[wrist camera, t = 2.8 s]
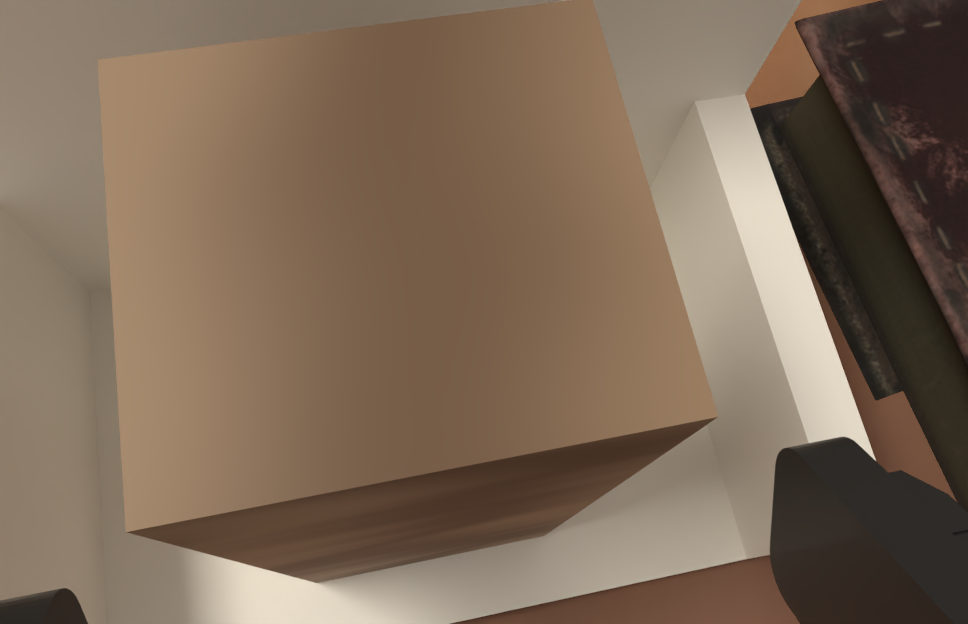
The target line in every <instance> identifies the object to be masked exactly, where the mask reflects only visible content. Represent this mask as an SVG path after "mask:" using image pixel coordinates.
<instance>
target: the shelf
mask: <svg viewBox="0 0 968 624" xmlns="http://www.w3.org/2000/svg"><path fill="white" fill-rule="evenodd" d="M560 1H568V0H0V600H5V599H10V598H16V597H21V596H26V595H31V594H36V593H41V592H46V591H51V590H56V589H61V588H67V589H69V590H71V591H72V592H73V593H74V594H75V596H76V597H77V599H78V601H79V603H80V605H81V608H82V610H83V613H84V615H85V617H86V620H87V622H88V624H451V623H455V622H460V621H465V620H469V619H474V618H478V617H483V616H488V615H492V614H497V613H501V612H506V611H511V610H515V609H520V608H524V607H529V606H533V605H538V604H543V603H547V602H552V601H556V600H561V599H566V598H570V597H575V596H579V595H584V594H589V593H593V592H598V591H602V590H607V589H611V588H616V587H621V586H625V585H630V584H634V583H639V582H644V581H648V580H653V579H657V578H662V577H667V576H671V575H676V574H680V573H685V572H689V571H694V570H699V569H703V568H708V567H712V566H717V565H722V564H726V563H731V562H735V561H740V560H745V559H750V558H756V557H761V556H767V555H770V535H771V521H772V506H773V491H774V476H775V464H776V459H777V455H778V453H779V452H780V451H781V450H782V449H784V448H787V447H792V446H797V445H802V444H807V443H812V442H817V441H822V440H827V439H832V438H838V437H848V438H850V439H852V440H854V441H855V442H856V443H857V444H858V445H859V446H861V447H862V448H863V449H864V450H865V451H866V452H867V453H868V454H869V455H870V456H871V457H872V458H873V459H874V460H875V461H876V459H875V456H874V454H873V451H872V448H871V445H870V443H869V440H868V437H867V434H866V431H865V429H864V426H863V423H862V420H861V417H860V415H859V412H858V409H857V406H856V403H855V401H854V398H853V395H852V392H851V389H850V387H849V384H848V381H847V378H846V376H845V373H844V370H843V367H842V364H841V362H840V359H839V356H838V353H837V350H836V348H835V345H834V342H833V339H832V336H831V334H830V331H829V328H828V325H827V322H826V320H825V317H824V314H823V311H822V309H821V306H820V303H819V300H818V297H817V295H816V292H815V289H814V286H813V283H812V281H811V278H810V275H809V272H808V269H807V267H806V264H805V261H804V258H803V255H802V253H801V250H800V247H799V244H798V241H797V239H796V236H795V233H794V230H793V228H792V225H791V222H790V219H789V216H788V214H787V211H786V208H785V205H784V202H783V200H782V197H781V194H780V191H779V188H778V186H777V183H776V180H775V177H774V174H773V172H772V169H771V166H770V163H769V161H768V158H767V155H766V152H765V149H764V147H763V144H762V141H761V138H760V135H759V133H758V130H757V127H756V124H755V121H754V119H753V116H752V113H751V110H750V107H749V105H748V102H747V99H746V96H745V93H746V91H747V90H748V88H749V86H750V85H751V83H752V81H753V80H754V78H755V76H756V75H757V73H758V71H759V70H760V68H761V67H762V65H763V63H764V62H765V60H766V58H767V57H768V55H769V53H770V52H771V50H772V48H773V47H774V45H775V43H776V42H777V40H778V38H779V37H780V35H781V33H782V32H783V30H784V28H785V27H786V25H787V24H788V22H789V20H790V19H791V17H792V15H793V14H794V12H795V10H796V9H797V7H798V5H799V4H800V2H801V0H593V2H594V5H595V8H596V12H597V15H598V18H599V22H600V25H601V28H602V32H603V35H604V38H605V42H606V45H607V48H608V52H609V55H610V58H611V62H612V65H613V68H614V72H615V75H616V78H617V81H618V85H619V88H620V91H621V95H622V98H623V101H624V105H625V108H626V111H627V115H628V118H629V121H630V125H631V128H632V131H633V135H634V138H635V141H636V145H637V148H638V151H639V155H640V158H641V161H642V165H643V168H644V171H645V174H646V178H647V181H648V184H649V188H650V191H651V194H652V198H653V201H654V204H655V208H656V211H657V214H658V218H659V221H660V224H661V228H662V231H663V234H664V238H665V241H666V244H667V248H668V251H669V254H670V258H671V261H672V264H673V267H674V271H675V274H676V277H677V281H678V284H679V287H680V291H681V294H682V297H683V301H684V304H685V307H686V311H687V314H688V317H689V321H690V324H691V327H692V331H693V334H694V337H695V341H696V344H697V347H698V351H699V354H700V357H701V361H702V364H703V367H704V370H705V374H706V377H707V380H708V384H709V387H710V390H711V394H712V397H713V400H714V404H715V407H716V410H717V414H718V418H716V419H715V420H713V421H712V422H710V423H709V424H707V425H706V426H704V427H703V428H701V429H700V430H699V431H697V432H696V433H694V434H693V435H691V436H690V437H688V438H687V439H685V440H684V441H682V442H681V443H680V444H678V445H677V446H675V447H674V448H672V449H671V450H669V451H668V452H666V453H665V454H663V455H662V456H660V457H659V458H658V459H656V460H655V461H653V462H652V463H650V464H649V465H647V466H646V467H644V468H643V469H641V470H640V471H639V472H637V473H636V474H634V475H633V476H631V477H630V478H628V479H627V480H625V481H624V482H622V483H621V484H620V485H618V486H617V487H615V488H614V489H612V490H611V491H609V492H608V493H606V494H605V495H603V496H602V497H600V498H599V499H598V500H596V501H595V502H593V503H592V504H590V505H589V506H587V507H586V508H584V509H583V510H581V511H580V512H579V513H577V514H576V515H574V516H573V517H571V518H570V519H568V520H567V521H565V522H564V523H562V524H561V525H559V526H558V527H557V528H555V529H554V530H552V531H551V532H549V533H548V534H546V535H545V536H542V537H537V538H532V539H527V540H522V541H517V542H513V543H508V544H503V545H498V546H493V547H489V548H484V549H479V550H474V551H469V552H464V553H460V554H455V555H450V556H445V557H440V558H436V559H431V560H426V561H421V562H416V563H411V564H407V565H402V566H397V567H392V568H387V569H383V570H378V571H373V572H368V573H363V574H358V575H354V576H349V577H344V578H339V579H334V580H330V581H325V582H320V583H314V582H311V581H307V580H303V579H299V578H296V577H292V576H288V575H284V574H281V573H277V572H273V571H269V570H266V569H262V568H258V567H254V566H251V565H247V564H243V563H239V562H236V561H232V560H228V559H224V558H221V557H217V556H213V555H209V554H206V553H202V552H198V551H194V550H191V549H187V548H183V547H179V546H176V545H172V544H168V543H164V542H161V541H157V540H153V539H149V538H146V537H142V536H138V535H134V534H131V533H127V532H126V530H125V513H124V496H123V479H122V462H121V446H120V429H119V412H118V395H117V379H116V362H115V345H114V328H113V311H112V295H111V278H110V261H109V244H108V227H107V211H106V194H105V177H104V160H103V144H102V127H101V110H100V93H99V76H98V59H106V58H114V57H122V56H130V55H138V54H146V53H154V52H162V51H170V50H178V49H186V48H194V47H202V46H210V45H218V44H226V43H234V42H242V41H250V40H258V39H265V38H273V37H281V36H289V35H297V34H305V33H313V32H321V31H329V30H337V29H345V28H353V27H361V26H369V25H377V24H385V23H393V22H401V21H409V20H417V19H425V18H433V17H440V16H448V15H456V14H464V13H472V12H480V11H488V10H496V9H504V8H512V7H520V6H528V5H536V4H544V3H552V2H560Z"/></svg>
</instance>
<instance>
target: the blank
mask: <svg viewBox="0 0 968 624" xmlns="http://www.w3.org/2000/svg"><path fill="white" fill-rule="evenodd" d="M98 76H99V93H100V110H101V127H102V144H103V160H104V177H105V194H106V211H107V227H108V244H109V261H110V278H111V295H112V311H113V328H114V345H115V362H116V379H117V395H118V412H119V429H120V446H121V462H122V479H123V496H124V513H125V530H126V532H127V533H131V534H134V535H138V536H142V537H146V538H149V539H153V540H157V541H161V542H164V543H168V544H172V545H176V546H179V547H183V548H187V549H191V550H194V551H198V552H202V553H206V554H209V555H213V556H217V557H221V558H224V559H228V560H232V561H236V562H239V563H243V564H247V565H251V566H254V567H258V568H262V569H266V570H269V571H273V572H277V573H281V574H284V575H288V576H292V577H296V578H299V579H303V580H307V581H311V582H314V583H320V582H325V581H330V580H334V579H339V578H344V577H349V576H354V575H358V574H363V573H368V572H373V571H378V570H383V569H387V568H392V567H397V566H402V565H407V564H411V563H416V562H421V561H426V560H431V559H436V558H440V557H445V556H450V555H455V554H460V553H464V552H469V551H474V550H479V549H484V548H489V547H493V546H498V545H503V544H508V543H513V542H517V541H522V540H527V539H532V538H537V537H542V536H545V535H546V534H548V533H549V532H551V531H552V530H554V529H555V528H557V527H558V526H559V525H561V524H562V523H564V522H565V521H567V520H568V519H570V518H571V517H573V516H574V515H576V514H577V513H579V512H580V511H581V510H583V509H584V508H586V507H587V506H589V505H590V504H592V503H593V502H595V501H596V500H598V499H599V498H600V497H602V496H603V495H605V494H606V493H608V492H609V491H611V490H612V489H614V488H615V487H617V486H618V485H620V484H621V483H622V482H624V481H625V480H627V479H628V478H630V477H631V476H633V475H634V474H636V473H637V472H639V471H640V470H641V469H643V468H644V467H646V466H647V465H649V464H650V463H652V462H653V461H655V460H656V459H658V458H659V457H660V456H662V455H663V454H665V453H666V452H668V451H669V450H671V449H672V448H674V447H675V446H677V445H678V444H680V443H681V442H682V441H684V440H685V439H687V438H688V437H690V436H691V435H693V434H694V433H696V432H697V431H699V430H700V429H701V428H703V427H704V426H706V425H707V424H709V423H710V422H712V421H713V420H715V419H716V418H718V414H717V410H716V407H715V404H714V400H713V397H712V394H711V390H710V387H709V384H708V380H707V377H706V374H705V370H704V367H703V364H702V361H701V357H700V354H699V351H698V347H697V344H696V341H695V337H694V334H693V331H692V327H691V324H690V321H689V317H688V314H687V311H686V307H685V304H684V301H683V297H682V294H681V291H680V287H679V284H678V281H677V277H676V274H675V271H674V267H673V264H672V261H671V258H670V254H669V251H668V248H667V244H666V241H665V238H664V234H663V231H662V228H661V224H660V221H659V218H658V214H657V211H656V208H655V204H654V201H653V198H652V194H651V191H650V188H649V184H648V181H647V178H646V174H645V171H644V168H643V165H642V161H641V158H640V155H639V151H638V148H637V145H636V141H635V138H634V135H633V131H632V128H631V125H630V121H629V118H628V115H627V111H626V108H625V105H624V101H623V98H622V95H621V91H620V88H619V85H618V81H617V78H616V75H615V72H614V68H613V65H612V62H611V58H610V55H609V52H608V48H607V45H606V42H605V38H604V35H603V32H602V28H601V25H600V22H599V18H598V15H597V12H596V8H595V5H594V2H593V0H568V1H560V2H552V3H544V4H536V5H528V6H520V7H512V8H504V9H496V10H488V11H480V12H472V13H464V14H456V15H448V16H440V17H433V18H425V19H417V20H409V21H401V22H393V23H385V24H377V25H369V26H361V27H353V28H345V29H337V30H329V31H321V32H313V33H305V34H297V35H289V36H281V37H273V38H265V39H258V40H250V41H242V42H234V43H226V44H218V45H210V46H202V47H194V48H186V49H178V50H170V51H162V52H154V53H146V54H138V55H130V56H122V57H114V58H106V59H98Z"/></svg>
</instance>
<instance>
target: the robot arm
mask: <svg viewBox="0 0 968 624" xmlns="http://www.w3.org/2000/svg"><path fill="white" fill-rule="evenodd" d="M770 559H771V565H772V570H773V574H774V577H775V580H776V583H777V585H778V588H779V590H780V592H781V594H782V596H783V598H784V600H785V602H786V603H787V605H788V606H789V608H790V609H791V611H792V612H793V613H794V615H795V616H796V618H797V619H798V621H799V622H800V624H968V512H967V511H966V510H965V509H964V508H962V507H961V506H960V505H959V504H958V503H957V502H956V501H955V500H954V499H952V498H951V497H950V496H949V495H948V494H946V493H944V492H942V491H940V490H938V489H936V488H935V487H933V486H931V485H929V484H927V483H925V482H923V481H921V480H919V479H917V478H915V477H913V476H911V475H909V474H907V473H905V472H903V471H896V472H891V473H888V472H887V471H886V470H885V469H884V468H883V467H881V466H880V465H879V464H878V463H877V462H876V461H875V460H874V459H873V458H872V457H871V456H870V455H869V454H868V453H867V452H866V451H865V450H864V449H863V448H862V447H861V446H859V445H858V444H857V443H856V442H855V441H854V440H852V439H850V438H848V437H838V438H832V439H827V440H822V441H817V442H812V443H807V444H802V445H797V446H792V447H787V448H784V449H782V450H781V451H780V452H779V453H778V455H777V459H776V464H775V476H774V491H773V506H772V521H771V535H770ZM0 624H88V622H87V620H86V617H85V615H84V613H83V610H82V608H81V605H80V603H79V601H78V599H77V597H76V596H75V594H74V593H73V592H72V591H71V590H69V589H67V588H61V589H56V590H51V591H46V592H41V593H36V594H31V595H26V596H21V597H16V598H10V599H5V600H0Z"/></svg>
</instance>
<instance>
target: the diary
mask: <svg viewBox="0 0 968 624" xmlns="http://www.w3.org/2000/svg"><path fill="white" fill-rule="evenodd" d="M795 25H796V28H797V30H798V32H799V34H800V36H801V38H802V40H803V42H804V44H805V46H806V48H807V50H808V52H809V54H810V56H811V58H812V60H813V62H814V64H815V66H816V68H817V70H818V72H819V74H820V75H819V77H818V78H817V79H816V80H815V82H814V83H813V84H812V86H811V87H810V88H809V90H808V91H807V92H806V94H805V95H804V96H803V97H799V98H795V99H790V100H786V101H781V102H777V103H772V104H767V105H763V106H759V107H755V108H751V109H750V110H751V113H752V116H753V119H754V121H755V124H756V127H757V130H758V133H759V135H760V138H761V141H762V144H763V147H764V149H765V152H766V155H767V158H768V161H769V163H770V166H771V169H772V172H773V174H774V177H775V180H776V183H777V186H778V188H779V191H780V194H781V197H782V200H783V202H784V205H785V208H786V211H787V214H788V216H789V219H790V222H791V225H792V228H793V230H794V232H795V235H796V237H797V239H798V241H799V243H800V245H801V247H802V249H803V251H804V253H805V255H806V257H807V259H808V262H809V264H810V266H811V268H812V270H813V272H814V274H815V276H816V278H817V280H818V282H819V284H820V286H821V288H822V291H823V293H824V295H825V297H826V299H827V301H828V303H829V305H830V307H831V309H832V311H833V313H834V315H835V317H836V320H837V322H838V324H839V326H840V328H841V330H842V332H843V334H844V336H845V338H846V340H847V342H848V344H849V347H850V349H851V351H852V353H853V355H854V357H855V359H856V361H857V363H858V365H859V367H860V369H861V371H862V373H863V376H864V378H865V380H866V382H867V384H868V386H869V388H870V390H871V392H872V394H873V396H874V398H875V400H879V399H882V398H884V397H887V396H890V395H892V394H895V393H898V392H901V391H904V393H905V395H906V397H907V399H908V401H909V403H910V406H911V408H912V410H913V412H914V414H915V416H916V418H917V420H918V422H919V424H920V426H921V428H922V430H923V432H924V434H925V436H926V438H927V441H928V443H929V445H930V447H931V449H932V451H933V453H934V455H935V457H936V459H937V461H938V463H939V465H940V467H941V469H942V471H943V474H944V476H945V478H946V480H947V482H948V484H949V486H950V488H951V490H952V492H953V494H954V496H955V498H956V500H957V502H958V504H959V505H960V506H961V507H962V508H964V509H965V510H966V511H967V512H968V0H882V1H878V2H874V3H869V4H865V5H861V6H856V7H852V8H848V9H843V10H839V11H835V12H831V13H826V14H822V15H817V16H813V17H809V18H804V19H801V20H798V21H796V22H795Z"/></svg>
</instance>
